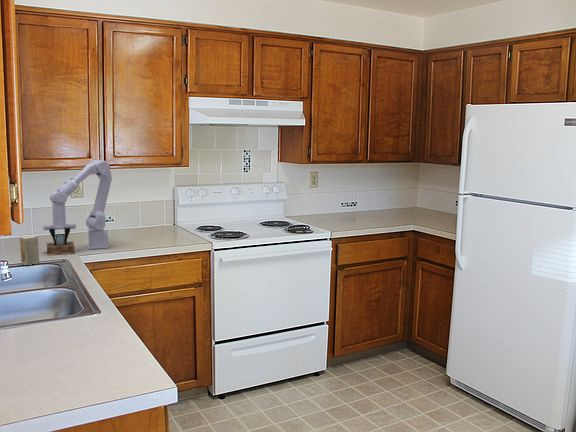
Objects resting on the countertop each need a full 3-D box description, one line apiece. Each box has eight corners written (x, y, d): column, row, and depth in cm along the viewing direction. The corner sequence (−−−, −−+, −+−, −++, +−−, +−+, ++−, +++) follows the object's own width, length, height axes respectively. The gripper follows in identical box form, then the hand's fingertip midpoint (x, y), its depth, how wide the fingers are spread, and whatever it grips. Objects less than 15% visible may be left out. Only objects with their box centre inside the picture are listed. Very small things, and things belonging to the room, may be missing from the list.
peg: (64, 247, 279) (63, 233, 278) (65, 249, 275) (65, 234, 274) (55, 248, 277) (55, 234, 276) (56, 249, 273) (56, 235, 272)
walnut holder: (73, 248, 284) (73, 241, 284) (74, 253, 273) (74, 245, 273) (47, 250, 280) (46, 242, 279) (47, 255, 269) (47, 247, 268)
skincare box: (35, 262, 254) (33, 235, 253) (39, 263, 251) (38, 236, 250) (20, 264, 249) (19, 237, 248) (25, 266, 247) (24, 238, 245)
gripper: (42, 218, 267) (44, 246, 269) (75, 216, 273) (76, 244, 275) (42, 216, 274) (44, 243, 276) (74, 214, 280) (76, 242, 281)
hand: (60, 244), depth 276 cm, fingers closed on peg, 4 cm apart
